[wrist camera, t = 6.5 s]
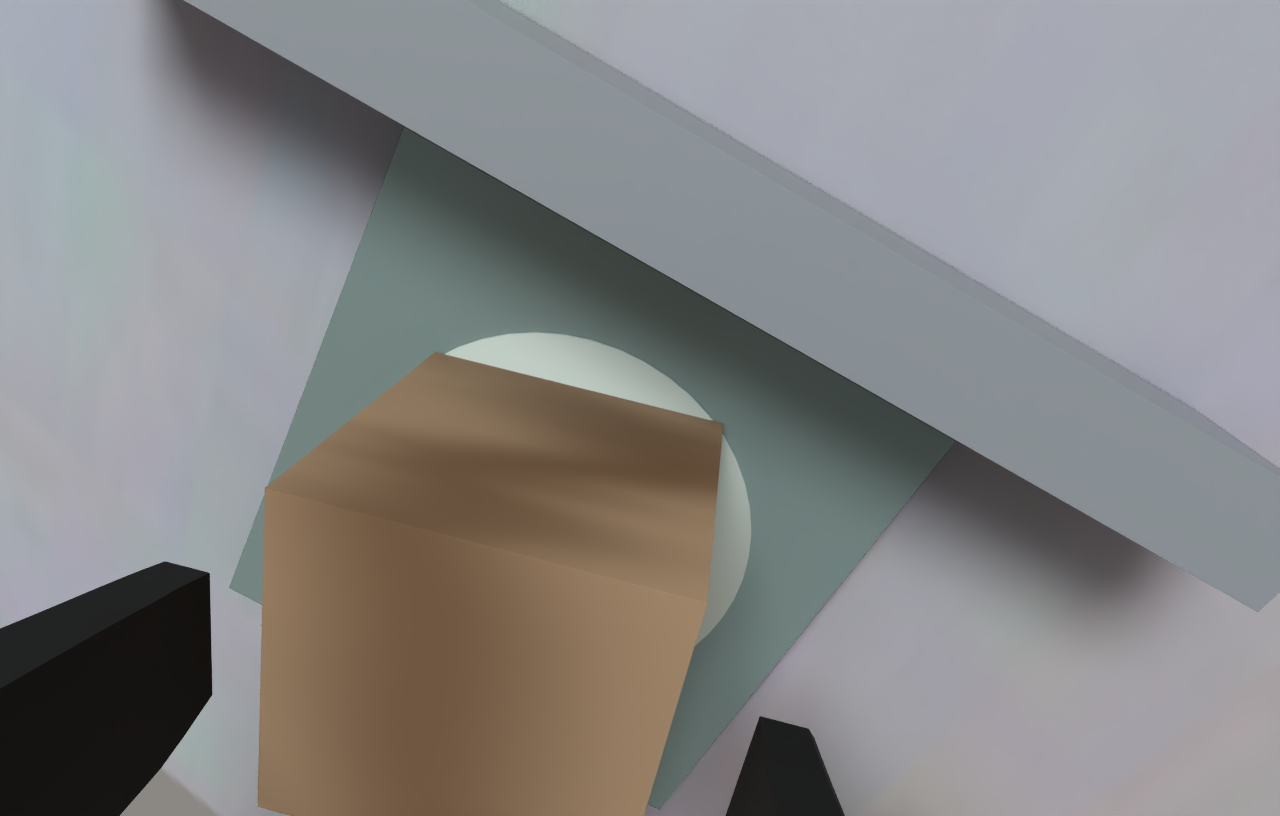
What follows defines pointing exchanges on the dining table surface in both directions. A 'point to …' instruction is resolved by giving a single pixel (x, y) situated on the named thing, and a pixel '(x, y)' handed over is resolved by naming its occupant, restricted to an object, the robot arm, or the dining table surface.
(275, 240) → the dining table surface
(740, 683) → the mat
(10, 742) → the robot arm
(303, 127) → the dining table surface
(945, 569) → the dining table surface
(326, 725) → the walnut block
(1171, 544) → the low wall
